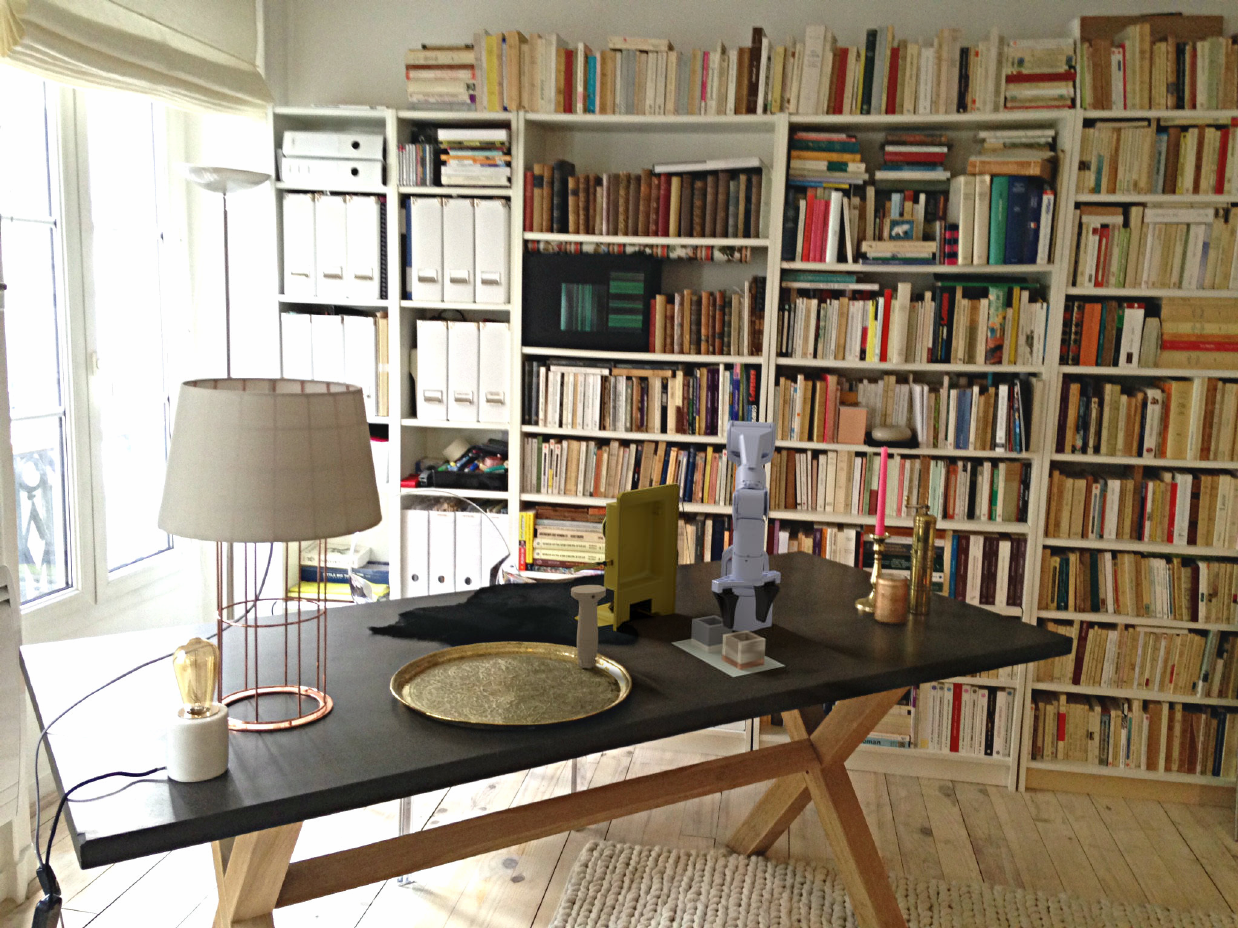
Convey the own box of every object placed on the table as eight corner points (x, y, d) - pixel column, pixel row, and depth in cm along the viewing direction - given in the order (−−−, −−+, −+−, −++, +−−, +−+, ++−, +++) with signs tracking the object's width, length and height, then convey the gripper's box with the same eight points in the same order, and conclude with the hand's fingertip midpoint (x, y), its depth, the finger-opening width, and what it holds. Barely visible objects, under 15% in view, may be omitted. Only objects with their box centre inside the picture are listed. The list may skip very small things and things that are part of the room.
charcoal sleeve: (714, 639, 201) (715, 615, 200) (731, 647, 197) (732, 623, 196) (691, 643, 198) (692, 619, 198) (707, 652, 194) (709, 627, 193)
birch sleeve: (745, 655, 193) (746, 630, 192) (764, 664, 188) (765, 639, 187) (721, 660, 190) (723, 634, 189) (740, 669, 185) (741, 643, 184)
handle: (607, 668, 188) (609, 590, 186) (575, 672, 186) (576, 594, 183) (597, 659, 193) (599, 583, 190) (566, 663, 190) (567, 586, 188)
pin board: (720, 640, 205) (721, 616, 204) (784, 673, 188) (786, 647, 187) (671, 649, 199) (672, 625, 198) (733, 684, 182) (734, 658, 181)
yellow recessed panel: (653, 597, 233) (657, 469, 227) (699, 612, 223) (704, 478, 218) (550, 627, 211) (552, 486, 206) (596, 644, 201) (600, 497, 196)
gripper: (729, 563, 178) (726, 636, 181) (792, 554, 186) (788, 624, 188) (706, 553, 184) (703, 625, 187) (768, 545, 192) (764, 613, 194)
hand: (744, 624), depth 188 cm, fingers open, 7 cm apart
